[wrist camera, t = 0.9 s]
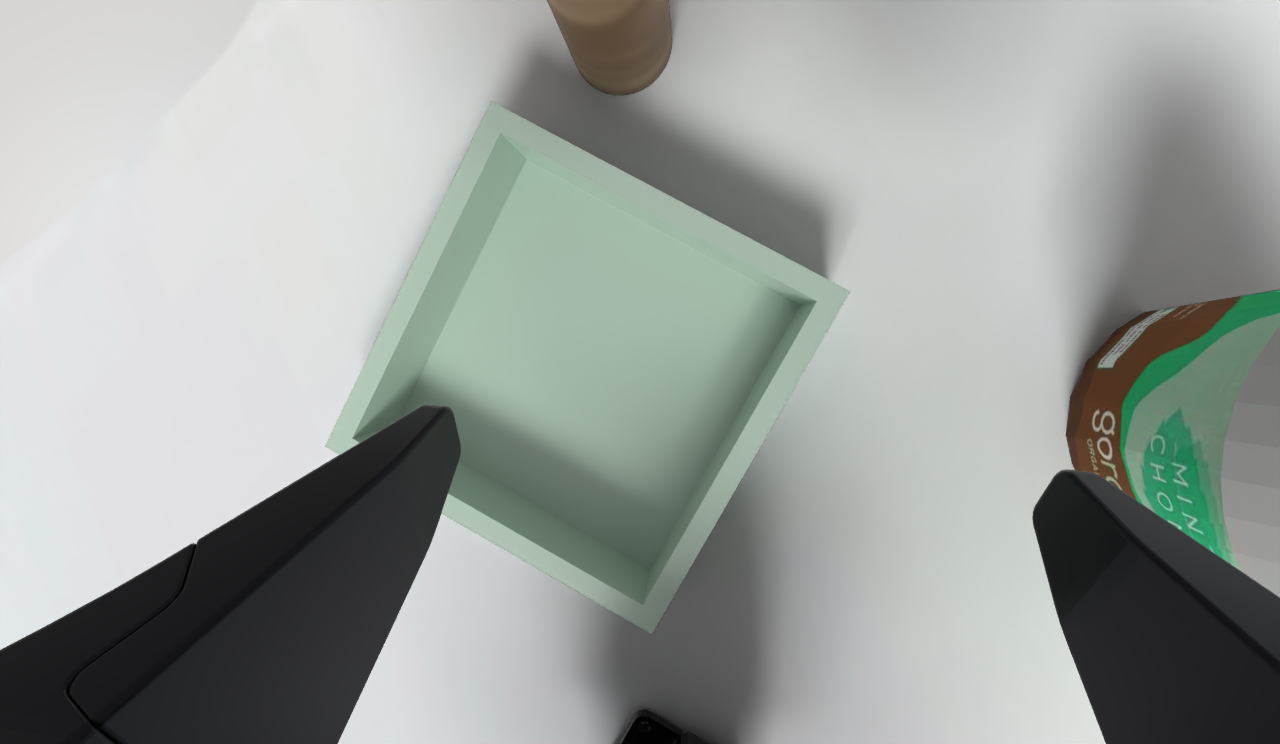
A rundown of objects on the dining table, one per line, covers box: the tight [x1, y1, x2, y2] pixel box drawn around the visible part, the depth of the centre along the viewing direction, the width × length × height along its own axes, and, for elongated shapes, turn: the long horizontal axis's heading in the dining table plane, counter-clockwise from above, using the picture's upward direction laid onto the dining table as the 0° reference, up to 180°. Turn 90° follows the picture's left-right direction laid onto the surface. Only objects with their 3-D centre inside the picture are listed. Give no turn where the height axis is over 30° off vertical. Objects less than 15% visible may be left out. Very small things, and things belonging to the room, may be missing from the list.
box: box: [325, 101, 850, 635], centre depth 22 cm, size 14×14×4 cm
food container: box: [1066, 290, 1280, 597], centre depth 17 cm, size 12×6×10 cm, turn 30°
